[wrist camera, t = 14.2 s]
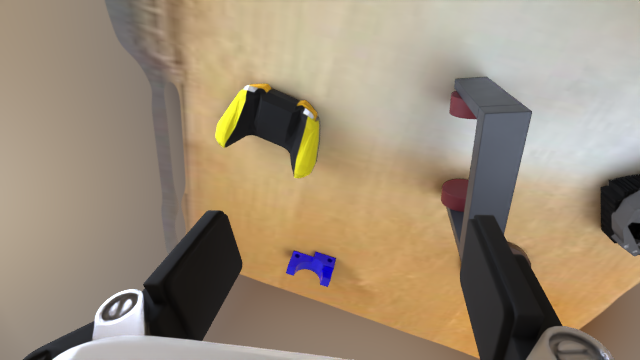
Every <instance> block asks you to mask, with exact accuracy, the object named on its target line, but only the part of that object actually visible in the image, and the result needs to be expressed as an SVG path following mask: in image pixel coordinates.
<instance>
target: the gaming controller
mask: <svg viewBox="0 0 640 360" xmlns="http://www.w3.org/2000/svg"><path fill="white" fill-rule="evenodd" d="M247 135H255V136H258V137H260V138H263V139H265V140H267V141H270V142H272V143H274V144H277V145H279V146H282V147H284V148H285V149H287V150H288V152H289V153H290V157H291V166H292V170H293V174H294V177H295V178H302V177H305V176H307V175H309V174H310V173H311V172H312V170H313V168H314V166H315V164H316V161H317V156H318V149H319V142H320V120H319V118H318V116H317V112H316V111H315V110H314V108H313V107H312V106H311V105H310V104H309V103H308V102H307V101H306V100H302V101H300V100H298V99H296V98H293V97H291V96H289V95H286V94H284V93H282V92H279V91H277V90H275V89H272V88H271V87H270V86H269V84H250V85H249V86H245V88H244V89H242V90H241V91H240V92H239V93H238V94H237V96H236V97H235V99H234V100H233V102H232V103H231V105H230V106H229V107H228V109H227V111H226V112H225V114H224V115H223V117H222V118H221V120H220V121H219V123H218V124H217V130H216V140H217V141H218V143H219V144H220V145H221V146H222V147H223V148H225V147H228V146H229V145H231V144H233V143H235V142H236V141H238V140H240V139H242V138H243V137H245V136H247Z"/></svg>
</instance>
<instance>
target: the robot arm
mask: <svg viewBox="0 0 640 360" xmlns="http://www.w3.org/2000/svg"><path fill="white" fill-rule="evenodd" d="M241 269H242V259H241V256H240V253H239V250H238V247H237V244H236V241H235V238H234V235H233V231H232V228H231V225H230V222H229V219H228V216H227V215H226V214H224V212H223V211H211V210H209V211H207V212H206V213H205V214H204V215H203V216H202V217H201V218H200V220H199V221H198V222H197V223H196V224H195V225H194V226H193V228H192V229H191V230H190V231H189V232H188V233H187V234H186V236H185V237H184V238H183V239H182V240H181V241H180V242H179V244H178V245H177V246H176V247H175V248H174V249H173V250H172V252H171V253H170V254H169V255H168V256H167V257H166V258H165V260H164V261H163V262H162V263H161V264H160V265H159V267H158V268H157V269H156V270H155V271H154V272H153V273H152V275H151V276H150V277H149V278H148V279H147V280H146V281H145V283H144V284H143V285H144V287H145V289H144V290H143V291H142V292H141V291H139V290H136V289H131V290H126V291H123V292H120V293H118V294H116V295H114V296H113V297H111V298H110V299H108V300H107V301H106V302H105V303H104V304H103V305H102V306H101V307H100V308H99V310H98V311H97V314H96V317H95V321H93V322H92V323H89V324H87V325H85V326H83V327H81V328H79V329H77V330H75V331H73V332H71V333H69V334H67V335H65V336H62V337H60V338H59V339H57V340H55V341H52V342H50V343H48V344H46V345H44V346H42V347H40V348H38V349H37V350H35V351H33V352H32V353H30V354H29V355H28V356H26V357H25V358H24V359H23V360H351V359H343V358H335V357H327V356H319V355H312V354H303V353H296V352H288V351H279V350H271V349H263V348H255V347H247V346H238V345H230V344H221V343H213V342H205V341H202V340H203V338H204V336H205V335H206V333H207V331H208V329H209V327H210V326H211V324H212V322H213V320H214V318H215V317H216V315H217V313H218V311H219V309H220V308H221V306H222V304H223V302H224V300H225V298H226V297H227V295H228V293H229V291H230V289H231V287H232V286H233V284H234V282H235V280H236V279H237V277H238V275H239V273H240V271H241ZM460 282H461V287H462V291H463V294H464V298H465V302H466V306H467V310H468V314H469V317H470V321H471V325H472V329H473V333H474V337H475V341H476V344H477V348H478V352H479V356H480V360H615V359H614V358H613V356H612V355H611V354H610V352H609V351H608V350H607V349H606V348H605V347H604V346H603V345H602V344H601V343H600V342H599V341H597V340H596V339H594V338H593V337H591V336H590V335H588V334H586V333H584V332H582V331H580V330H577V329H574V328H570V327H566V326H562V324H561V322H560V320H559V319H558V317H557V315H556V313H555V311H554V309H553V307H552V306H551V304H550V302H549V300H548V298H547V296H546V295H545V293H544V291H543V289H542V287H541V285H540V283H539V282H538V280H537V278H536V276H535V274H534V272H533V271H532V269H531V267H530V265H529V263H528V261H527V260H526V258H525V257H524V256H523V255H522V254H513V253H512V251H511V249H510V247H509V245H508V243H507V241H506V239H505V237H504V235H503V233H502V231H501V229H500V227H499V225H498V223H497V221H496V219H495V217H494V216H493V215H475V216H474V218H473V219H468V222H467V229H466V236H465V243H464V250H463V257H462V264H461V271H460Z"/></svg>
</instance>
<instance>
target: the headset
mask: <svg viewBox="0 0 640 360" xmlns="http://www.w3.org/2000/svg"><path fill="white" fill-rule="evenodd" d="M454 88H455V90H456V91H454V92H453V93H452V94H451V102H450V114H451V115H453V116H456V117H459V118H465V119H477V126H476V133H475V140H474V147H473V154H472V161H471V168H470V175H469V180H466V179H452V180H449V181H446V182H445V183H444V184H443V186H442V195H441V201H442V203H443V204H444V205H445V206H446V208H447V211H448V215H449V219H450V222H451V226H452V230H453V233H454V237H455V241H456V244H457V248H458V252H459V256H460V259H461V263H462V257H463V250H464V243H465V236H466V229H467V222H468V219H473V218H474V216H475V215H493V216H494V217H495V219H496V221H497V223H498V225H499V227H500V229H501V231H502V233H503V235H504V232H505V227H506V223H507V219H508V214H509V210H510V206H511V201H512V197H513V193H514V188H515V184H516V180H517V175H518V171H519V167H520V162H521V158H522V154H523V149H524V145H525V141H526V136H527V132H528V128H529V123H530V119H531V115H532V111H531V110H530V109H528V108H527V107H526V106H524V105H523V104H522V103H520V102H519V101H518V100H517V99H515V98H514V97H513V96H511V95H510V94H509V93H507V92H506V91H505V90H503V89H502V88H501V87H500V86H498V85H497V84H496V83H494V82H493V81H492V80H490V79H489V78H488V77H476V78H461V79H455V87H454Z"/></svg>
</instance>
